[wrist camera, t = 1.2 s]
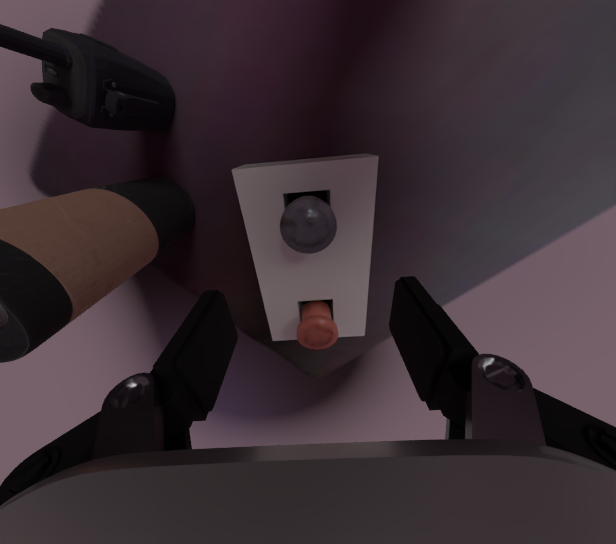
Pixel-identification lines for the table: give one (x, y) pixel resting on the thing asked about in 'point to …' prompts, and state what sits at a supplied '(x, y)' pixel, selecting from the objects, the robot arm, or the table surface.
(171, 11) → the table surface
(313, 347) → the red button
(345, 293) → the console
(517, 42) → the table surface
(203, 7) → the table surface
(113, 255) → the travel mug
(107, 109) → the two-way radio
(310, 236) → the metal button
